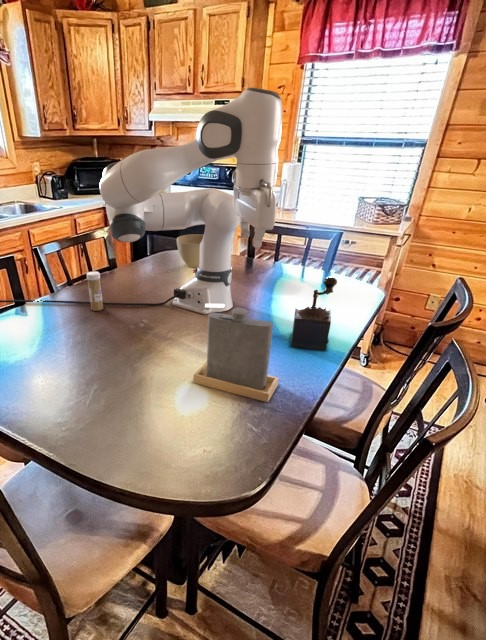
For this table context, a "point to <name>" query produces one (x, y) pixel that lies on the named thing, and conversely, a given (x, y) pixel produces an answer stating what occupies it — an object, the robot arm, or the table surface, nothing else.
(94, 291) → the sprinkles bottle
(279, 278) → the table surface
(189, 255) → the flower pot
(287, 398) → the table surface
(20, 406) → the table surface
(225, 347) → the hip flask
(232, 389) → the flask stand
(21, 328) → the table surface
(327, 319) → the dark brown coffee grinder
